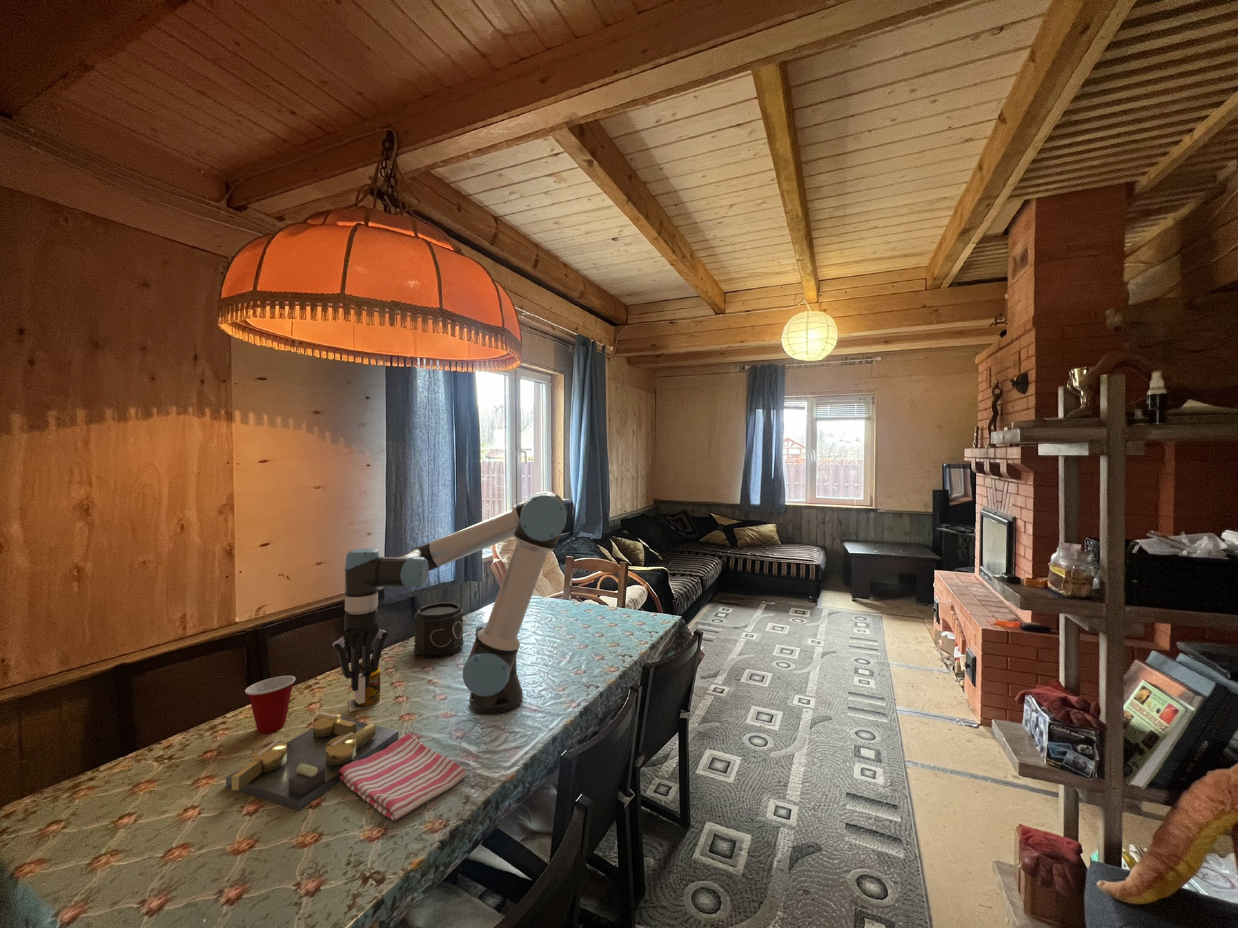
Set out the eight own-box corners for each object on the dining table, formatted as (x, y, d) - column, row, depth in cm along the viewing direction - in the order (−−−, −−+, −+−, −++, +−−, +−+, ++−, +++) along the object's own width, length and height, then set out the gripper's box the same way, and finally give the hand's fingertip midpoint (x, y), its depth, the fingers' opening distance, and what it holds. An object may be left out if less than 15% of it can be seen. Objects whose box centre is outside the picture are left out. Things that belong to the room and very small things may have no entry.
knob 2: (307, 734, 117) (307, 718, 117) (329, 721, 122) (329, 706, 122) (343, 743, 113) (343, 726, 113) (363, 730, 119) (363, 714, 118)
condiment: (383, 704, 136) (383, 663, 136) (349, 712, 131) (349, 670, 131) (380, 694, 142) (379, 654, 142) (347, 701, 137) (347, 661, 137)
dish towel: (409, 743, 117) (409, 729, 117) (468, 779, 104) (468, 763, 104) (336, 781, 103) (336, 765, 103) (394, 828, 89) (395, 810, 89)
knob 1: (269, 754, 109) (269, 737, 109) (293, 756, 108) (293, 738, 108) (221, 790, 97) (221, 770, 97) (248, 791, 96) (248, 772, 96)
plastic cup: (285, 712, 131) (285, 670, 131) (303, 724, 125) (303, 679, 125) (237, 731, 122) (237, 685, 122) (255, 744, 116) (255, 696, 116)
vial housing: (326, 779, 100) (326, 761, 100) (304, 795, 96) (304, 775, 96) (309, 774, 102) (309, 756, 102) (287, 789, 97) (286, 770, 97)
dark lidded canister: (475, 647, 178) (475, 605, 178) (434, 664, 163) (434, 619, 163) (445, 637, 188) (445, 598, 188) (403, 652, 173) (403, 610, 173)
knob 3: (339, 767, 104) (339, 749, 104) (319, 762, 106) (319, 744, 106) (382, 738, 115) (382, 721, 115) (363, 733, 117) (363, 717, 117)
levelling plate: (398, 738, 119) (398, 731, 119) (299, 810, 94) (299, 801, 94) (334, 723, 126) (334, 715, 126) (226, 786, 101) (226, 777, 101)
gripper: (382, 601, 127) (381, 687, 127) (328, 611, 118) (326, 705, 118) (393, 607, 122) (391, 697, 122) (337, 619, 113) (335, 716, 113)
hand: (359, 701), depth 120 cm, fingers closed
